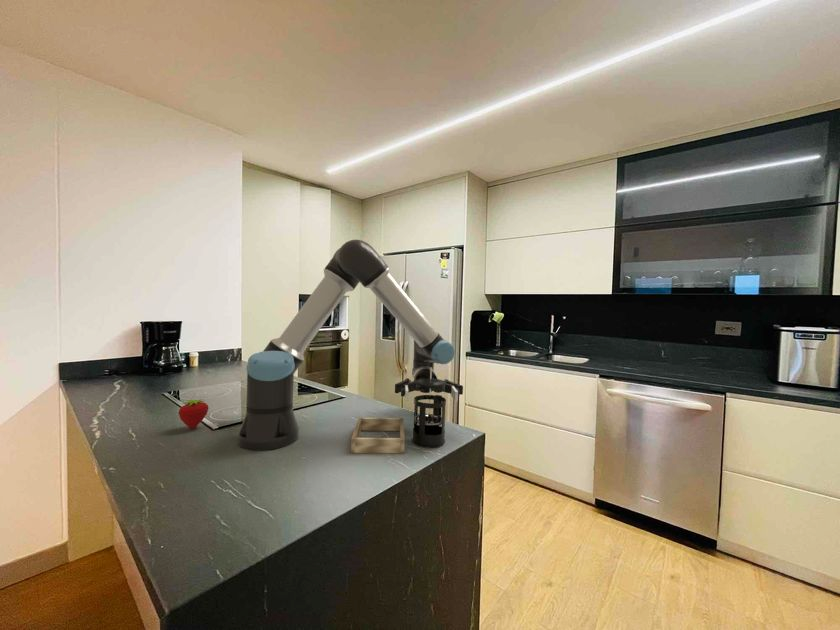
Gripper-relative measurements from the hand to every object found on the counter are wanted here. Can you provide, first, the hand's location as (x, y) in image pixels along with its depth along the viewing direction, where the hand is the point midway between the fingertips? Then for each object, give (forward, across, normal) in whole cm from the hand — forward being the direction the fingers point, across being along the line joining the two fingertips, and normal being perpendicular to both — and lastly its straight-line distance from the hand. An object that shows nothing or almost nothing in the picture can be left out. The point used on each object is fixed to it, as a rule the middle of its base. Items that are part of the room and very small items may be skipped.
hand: (431, 396), depth 92 cm
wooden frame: (-3, +14, -14) cm, 20 cm away
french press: (-3, 0, -14) cm, 14 cm away
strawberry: (-10, +68, -14) cm, 70 cm away
